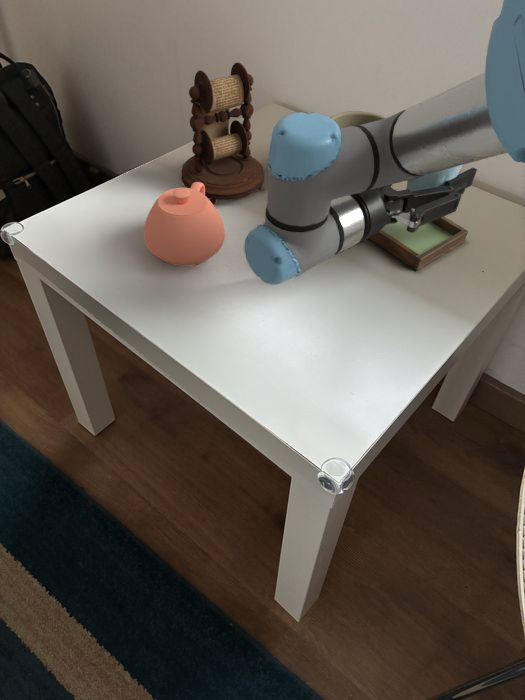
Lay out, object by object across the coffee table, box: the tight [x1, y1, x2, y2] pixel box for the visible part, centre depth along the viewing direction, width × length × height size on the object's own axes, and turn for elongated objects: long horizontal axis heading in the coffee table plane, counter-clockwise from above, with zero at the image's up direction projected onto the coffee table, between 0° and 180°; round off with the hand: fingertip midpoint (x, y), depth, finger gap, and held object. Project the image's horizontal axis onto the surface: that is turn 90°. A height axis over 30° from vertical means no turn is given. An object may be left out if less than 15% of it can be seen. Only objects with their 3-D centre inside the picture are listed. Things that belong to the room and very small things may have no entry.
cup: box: [405, 165, 463, 212], centre depth 81 cm, size 8×8×10 cm
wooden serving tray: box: [368, 216, 469, 272], centre depth 88 cm, size 12×12×2 cm
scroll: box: [180, 62, 265, 206], centre depth 90 cm, size 15×15×20 cm
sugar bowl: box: [143, 182, 226, 267], centre depth 82 cm, size 12×14×10 cm
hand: (451, 165), depth 83 cm, fingers closed on cup, 7 cm apart
